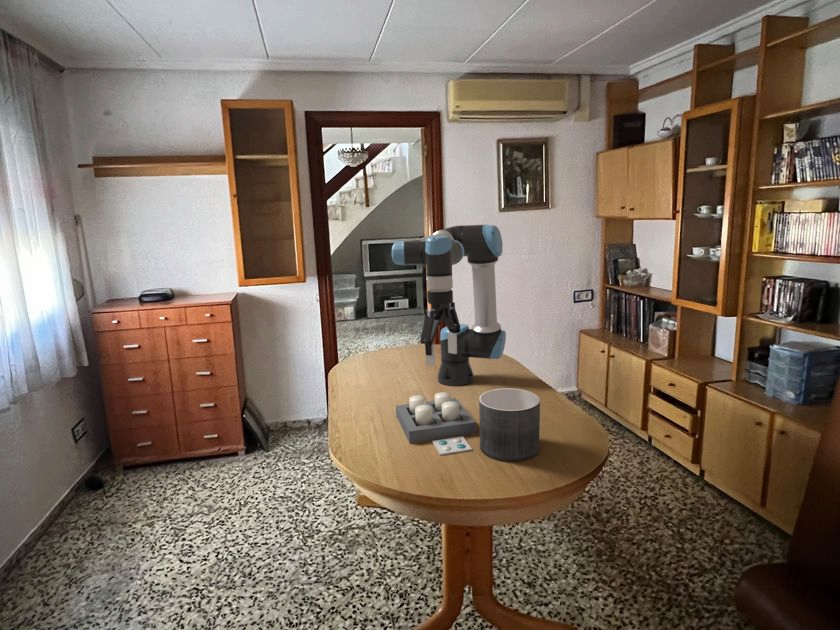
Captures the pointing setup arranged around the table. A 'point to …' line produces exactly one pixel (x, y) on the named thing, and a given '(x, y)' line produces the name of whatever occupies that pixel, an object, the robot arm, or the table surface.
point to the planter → (509, 424)
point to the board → (434, 424)
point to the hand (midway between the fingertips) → (442, 359)
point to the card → (451, 445)
